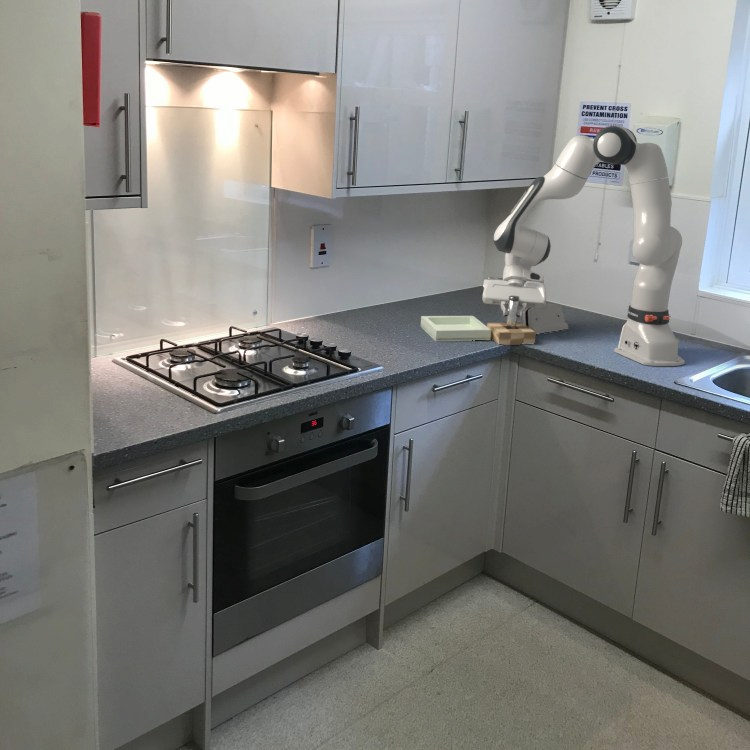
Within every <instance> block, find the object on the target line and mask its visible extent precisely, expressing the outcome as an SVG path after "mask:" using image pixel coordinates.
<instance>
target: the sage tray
mask: <svg viewBox="0 0 750 750" xmlns="http://www.w3.org/2000/svg"><path fill="white" fill-rule="evenodd" d="M420 328H421V329H422V330H424V332H426V334H427V335H429V336H430V337H431V339H433V340H434V342H476V341H475V340H490V341H491V338H490V337H491V330H490V329H489V328H488V327H487V325H485V324H484V323H483V322H482V321H480V320H479V319H478V318H477V317H475V316H474V315H428V316H427V315H421V316H420ZM472 340H473V341H472Z"/></svg>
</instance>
